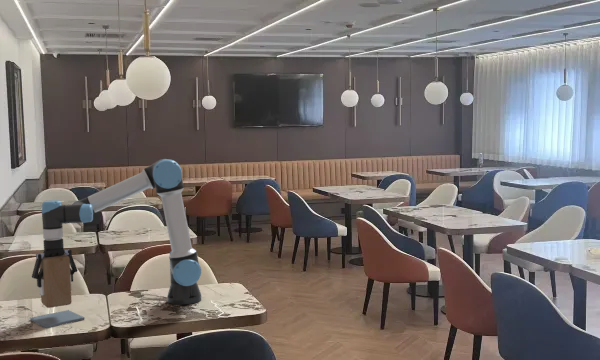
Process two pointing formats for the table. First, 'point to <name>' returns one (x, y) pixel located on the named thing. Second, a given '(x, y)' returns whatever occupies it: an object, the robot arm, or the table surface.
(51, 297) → the wooden block
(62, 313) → the slate plate
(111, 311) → the table surface
